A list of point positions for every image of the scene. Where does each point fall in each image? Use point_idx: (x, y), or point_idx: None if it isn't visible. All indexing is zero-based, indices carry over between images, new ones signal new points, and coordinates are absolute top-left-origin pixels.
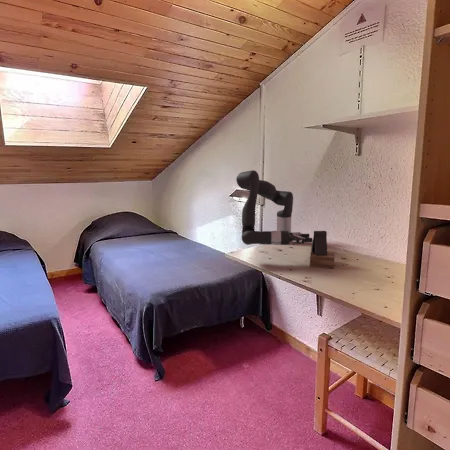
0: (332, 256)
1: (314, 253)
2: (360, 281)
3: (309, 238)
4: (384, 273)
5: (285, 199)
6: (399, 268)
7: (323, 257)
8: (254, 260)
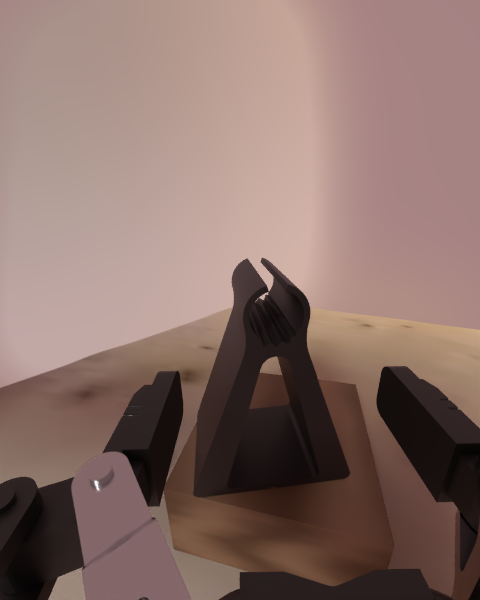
0: (324, 387)
1: (301, 480)
2: (467, 378)
3: (426, 392)
4: (337, 326)
5: None
6: None
7: (366, 434)
8: None
